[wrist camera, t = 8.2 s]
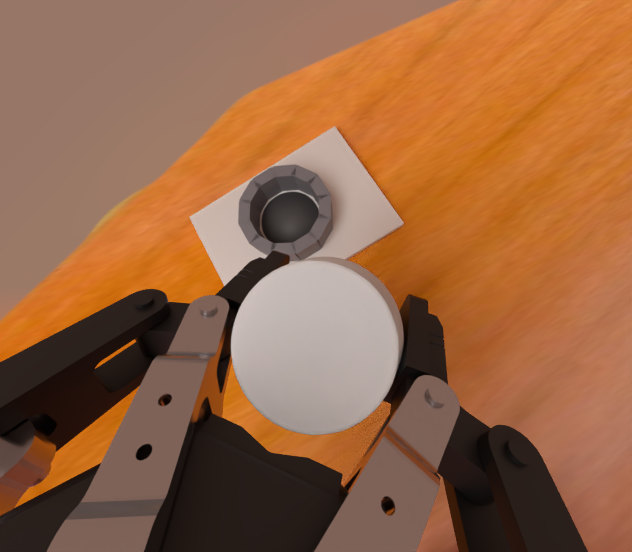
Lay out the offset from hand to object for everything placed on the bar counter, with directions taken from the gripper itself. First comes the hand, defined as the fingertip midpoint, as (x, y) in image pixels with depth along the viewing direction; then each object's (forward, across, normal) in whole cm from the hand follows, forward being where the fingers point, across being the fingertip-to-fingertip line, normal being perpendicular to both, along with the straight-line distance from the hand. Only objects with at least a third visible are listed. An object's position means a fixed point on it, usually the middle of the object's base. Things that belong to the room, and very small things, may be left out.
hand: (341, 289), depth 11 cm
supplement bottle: (+2, 0, +4) cm, 5 cm away
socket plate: (+16, +9, +6) cm, 19 cm away
